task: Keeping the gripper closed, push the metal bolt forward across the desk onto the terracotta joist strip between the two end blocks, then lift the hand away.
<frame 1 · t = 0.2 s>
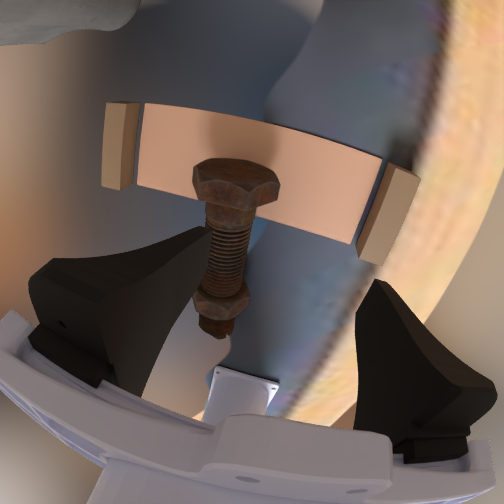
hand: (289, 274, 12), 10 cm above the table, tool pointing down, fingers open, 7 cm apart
bolt: (230, 247, 23), on the table, touching joist strip
joist strip: (247, 167, 20), on the table
flask: (82, 11, 14), on the table
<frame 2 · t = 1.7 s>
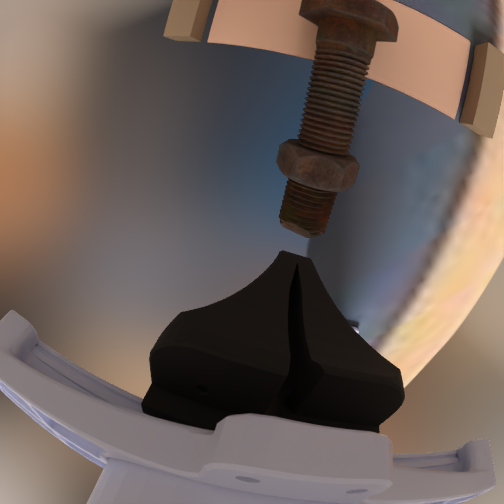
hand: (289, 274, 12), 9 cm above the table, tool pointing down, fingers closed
bolt: (325, 114, 17), on the table, touching joist strip
joist strip: (349, 24, 13), on the table
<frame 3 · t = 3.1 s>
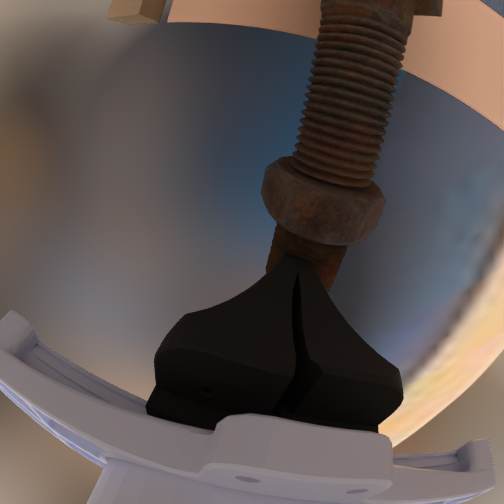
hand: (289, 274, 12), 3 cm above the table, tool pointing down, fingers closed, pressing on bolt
bolt: (335, 118, 11), on the table, touching gripper, joist strip
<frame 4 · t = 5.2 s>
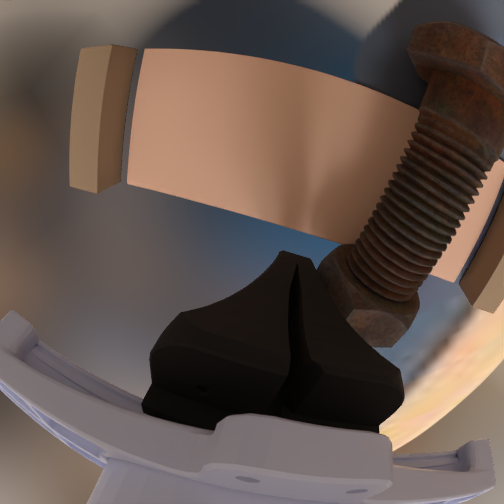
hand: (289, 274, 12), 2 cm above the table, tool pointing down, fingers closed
bolt: (389, 209, 11), on the table, touching joist strip
joist strip: (324, 157, 11), on the table
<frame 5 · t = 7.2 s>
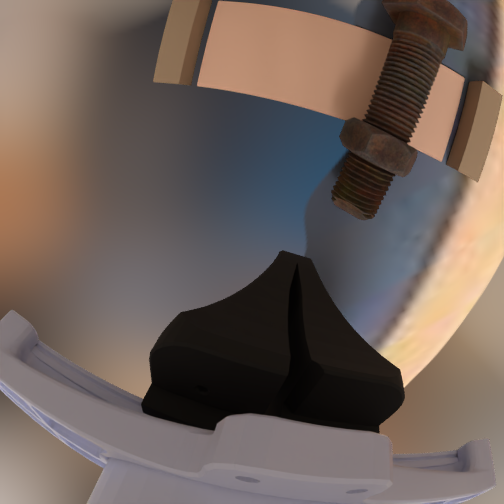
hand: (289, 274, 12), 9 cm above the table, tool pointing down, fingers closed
bolt: (385, 102, 15), on the table, touching joist strip
joist strip: (338, 67, 15), on the table
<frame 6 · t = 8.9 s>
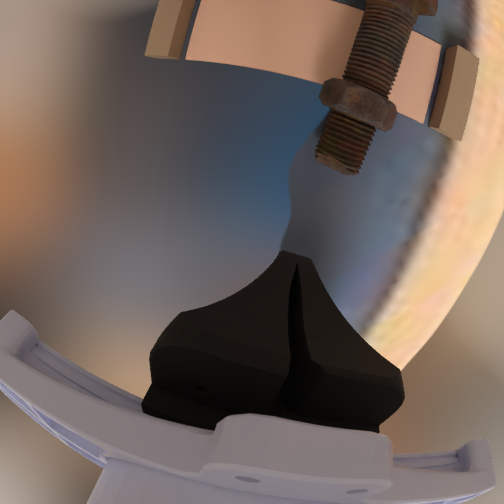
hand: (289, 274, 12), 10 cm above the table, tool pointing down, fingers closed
bolt: (364, 68, 15), on the table, touching joist strip
joist strip: (316, 37, 15), on the table
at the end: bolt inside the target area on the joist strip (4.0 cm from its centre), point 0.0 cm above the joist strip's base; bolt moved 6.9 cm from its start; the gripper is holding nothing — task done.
